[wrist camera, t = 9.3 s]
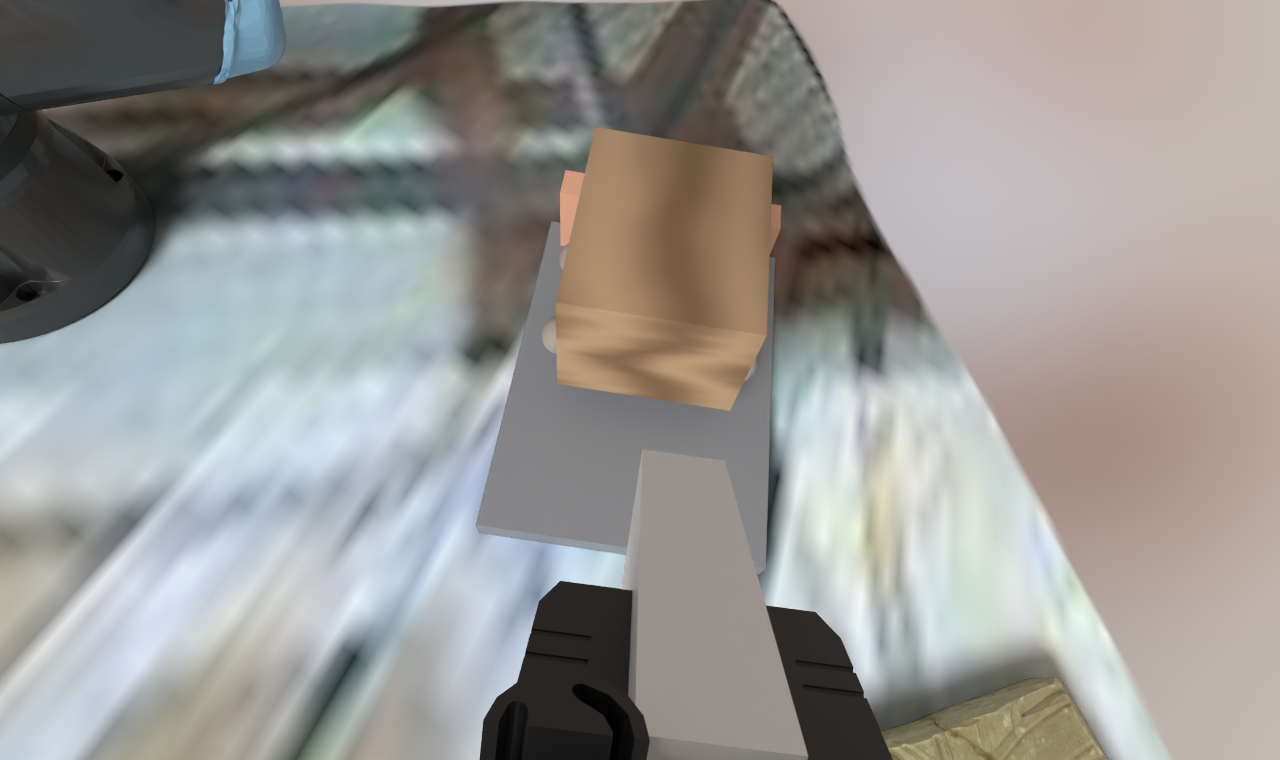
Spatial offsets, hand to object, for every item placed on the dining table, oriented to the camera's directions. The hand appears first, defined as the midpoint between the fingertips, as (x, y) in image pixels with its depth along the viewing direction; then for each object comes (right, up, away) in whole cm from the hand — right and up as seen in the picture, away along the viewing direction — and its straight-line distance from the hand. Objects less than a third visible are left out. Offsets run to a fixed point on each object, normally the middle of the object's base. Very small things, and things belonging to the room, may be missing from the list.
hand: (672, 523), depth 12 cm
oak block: (0, +6, +31) cm, 31 cm away
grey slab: (0, +2, +31) cm, 31 cm away
